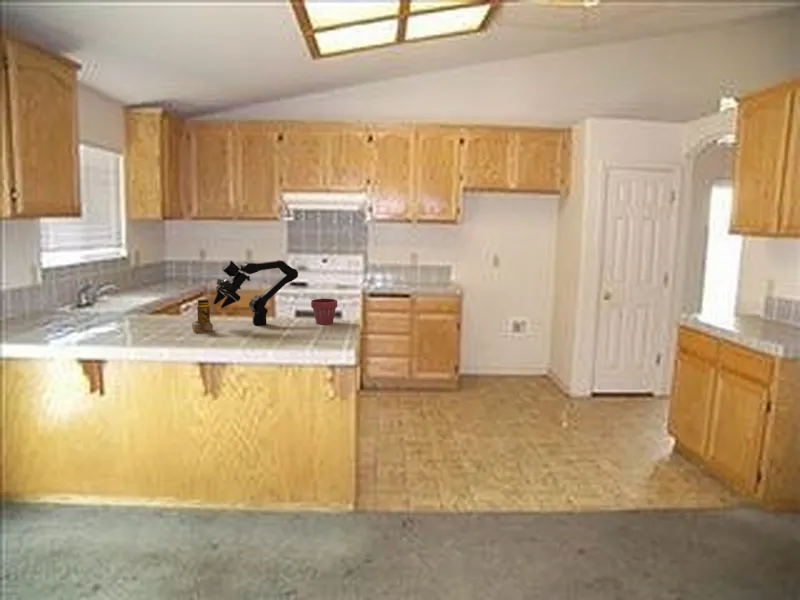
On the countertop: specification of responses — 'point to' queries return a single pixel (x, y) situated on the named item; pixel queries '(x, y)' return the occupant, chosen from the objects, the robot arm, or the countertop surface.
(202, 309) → the condiment
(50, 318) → the countertop surface
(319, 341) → the countertop surface
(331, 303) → the plant pot
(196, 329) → the base block
